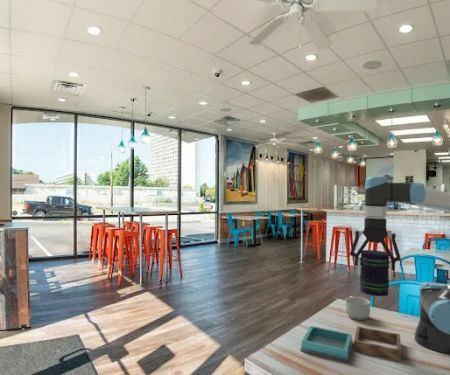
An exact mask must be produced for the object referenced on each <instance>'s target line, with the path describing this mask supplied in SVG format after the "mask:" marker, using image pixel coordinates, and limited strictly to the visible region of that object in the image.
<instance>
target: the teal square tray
mask: <svg viewBox="0 0 450 375" xmlns="http://www.w3.org/2000/svg"><path fill="white" fill-rule="evenodd" d="M352 336H353V334H352V333H348V332H343V331H340V330H339V331H338V330H332V329H328V328H324V327H318V326H314V325H310V326H309V328H308V330H307V331H306V333H305V335H304V337H303V338H302V340H301V347H300V352H304V353H308V354H312V355H316V356H320V357H325V358H328V359H333V360H337V361H341V362H344V363H349V359H350V357H351V353H352V352H351V351H352V347H353V345H354V340H353V337H352Z"/></svg>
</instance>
